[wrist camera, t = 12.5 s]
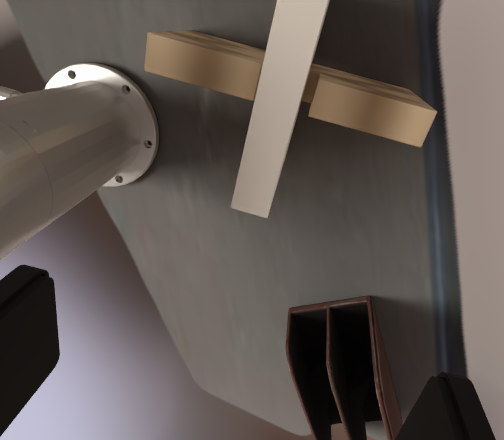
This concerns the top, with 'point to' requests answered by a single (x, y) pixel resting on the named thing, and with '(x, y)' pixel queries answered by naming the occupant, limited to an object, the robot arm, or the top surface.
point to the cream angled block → (277, 101)
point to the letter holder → (341, 368)
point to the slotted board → (316, 90)
